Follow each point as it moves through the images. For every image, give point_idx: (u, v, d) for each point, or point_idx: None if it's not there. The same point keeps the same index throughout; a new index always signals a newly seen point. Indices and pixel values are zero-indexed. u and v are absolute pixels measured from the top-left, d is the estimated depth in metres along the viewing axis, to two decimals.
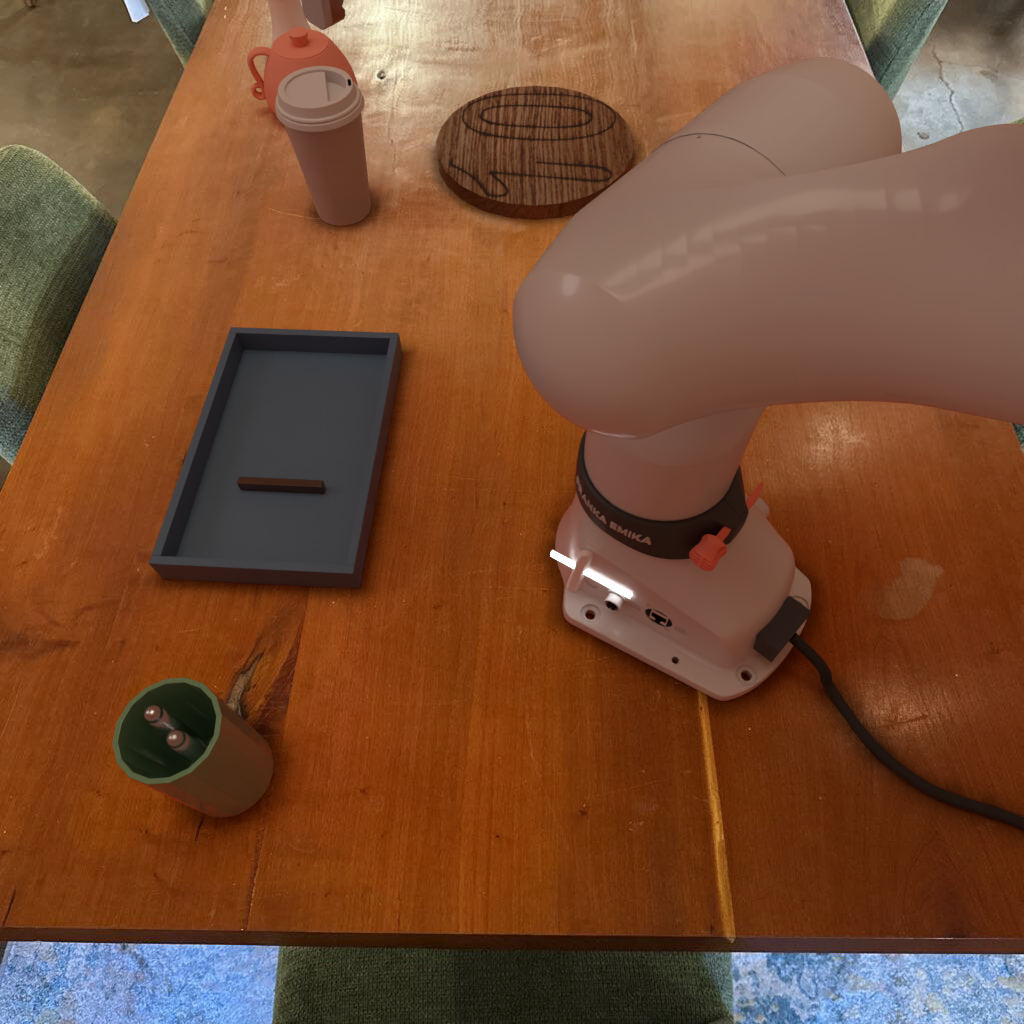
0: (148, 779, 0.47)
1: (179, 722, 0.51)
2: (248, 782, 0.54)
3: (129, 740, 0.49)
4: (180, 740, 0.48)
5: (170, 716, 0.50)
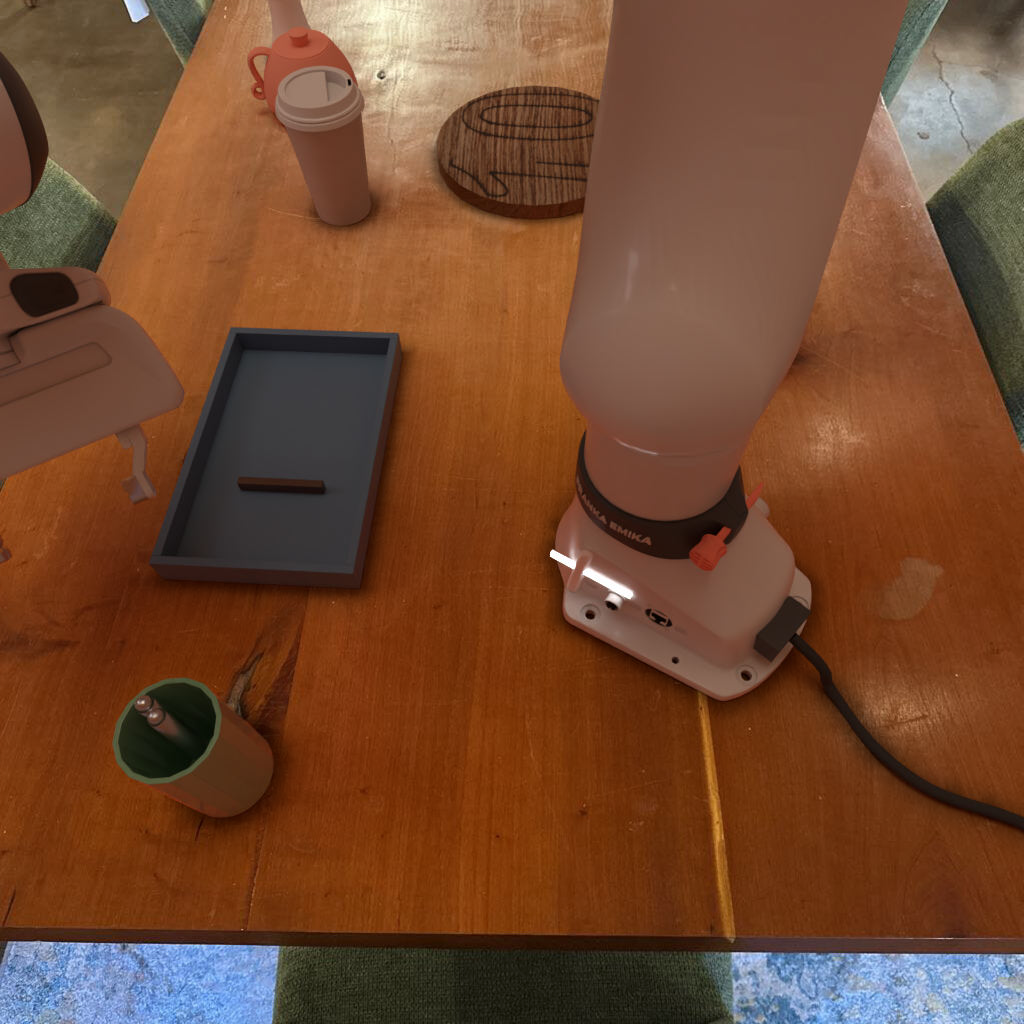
0: (148, 779, 0.47)
1: (172, 715, 0.51)
2: (248, 782, 0.54)
3: (129, 740, 0.49)
4: (159, 717, 0.48)
5: (162, 707, 0.50)
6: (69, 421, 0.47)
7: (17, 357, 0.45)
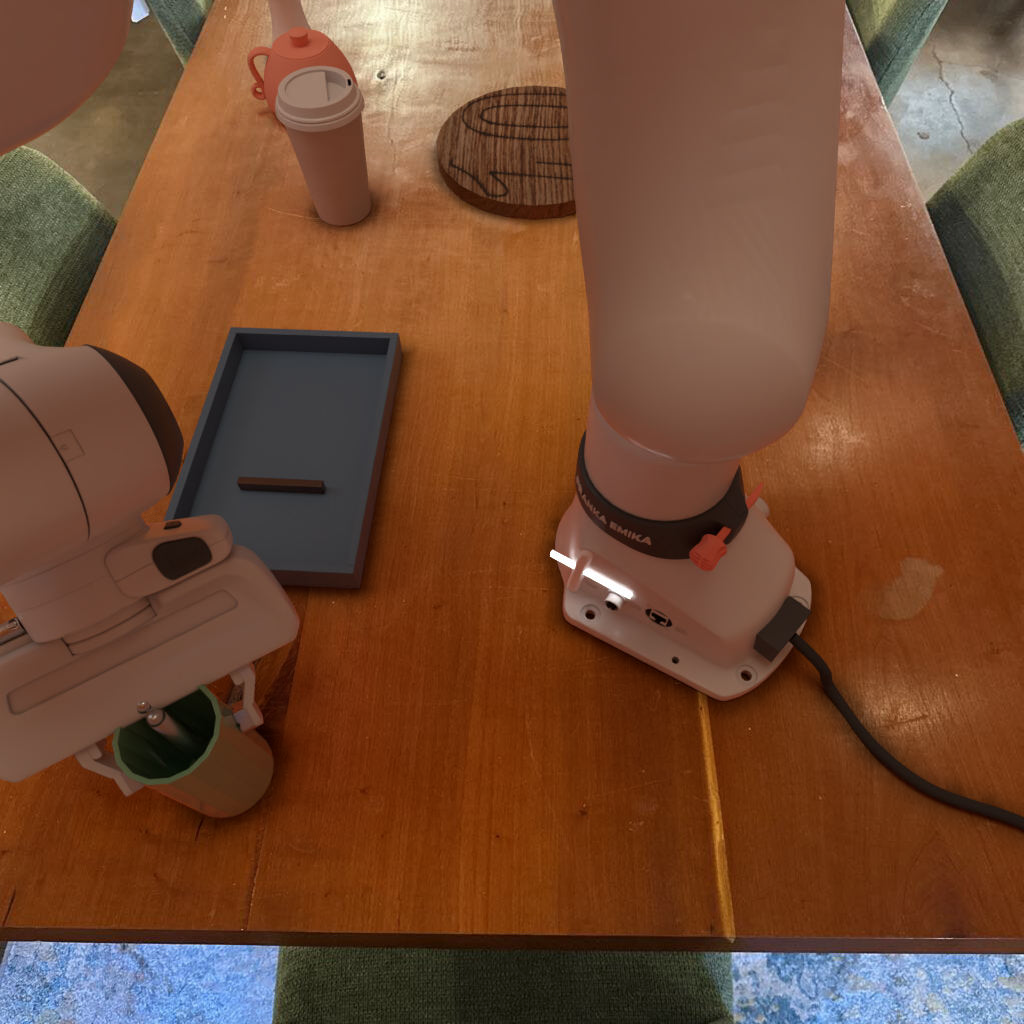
0: (148, 780, 0.47)
1: (172, 715, 0.51)
2: (248, 782, 0.54)
3: (128, 741, 0.49)
4: (159, 718, 0.48)
5: None
6: (199, 663, 0.50)
7: (153, 611, 0.48)
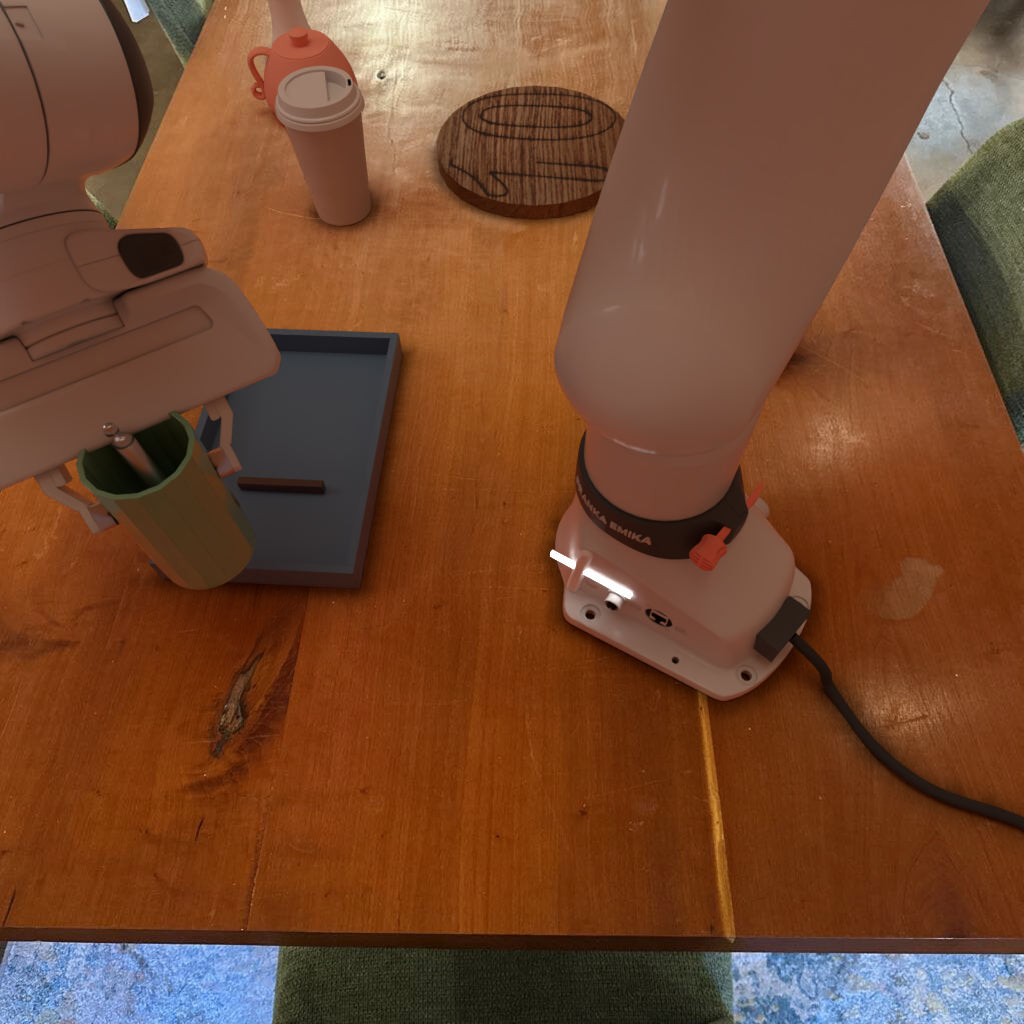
0: (114, 495, 0.43)
1: None
2: (226, 539, 0.51)
3: (95, 470, 0.46)
4: (127, 439, 0.45)
5: None
6: (171, 386, 0.46)
7: (121, 321, 0.44)
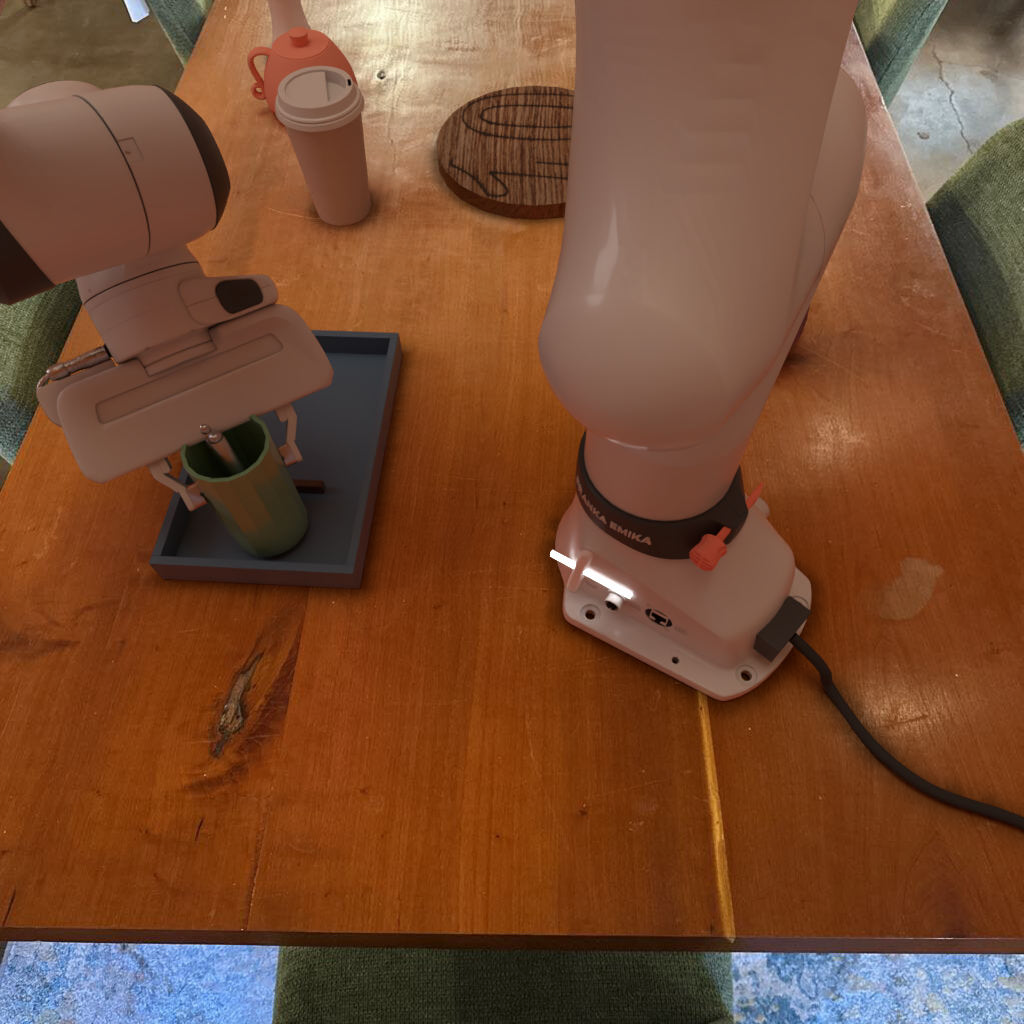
0: (211, 479, 0.57)
1: None
2: (289, 515, 0.64)
3: (192, 460, 0.59)
4: (218, 436, 0.58)
5: None
6: (251, 395, 0.59)
7: (214, 345, 0.58)
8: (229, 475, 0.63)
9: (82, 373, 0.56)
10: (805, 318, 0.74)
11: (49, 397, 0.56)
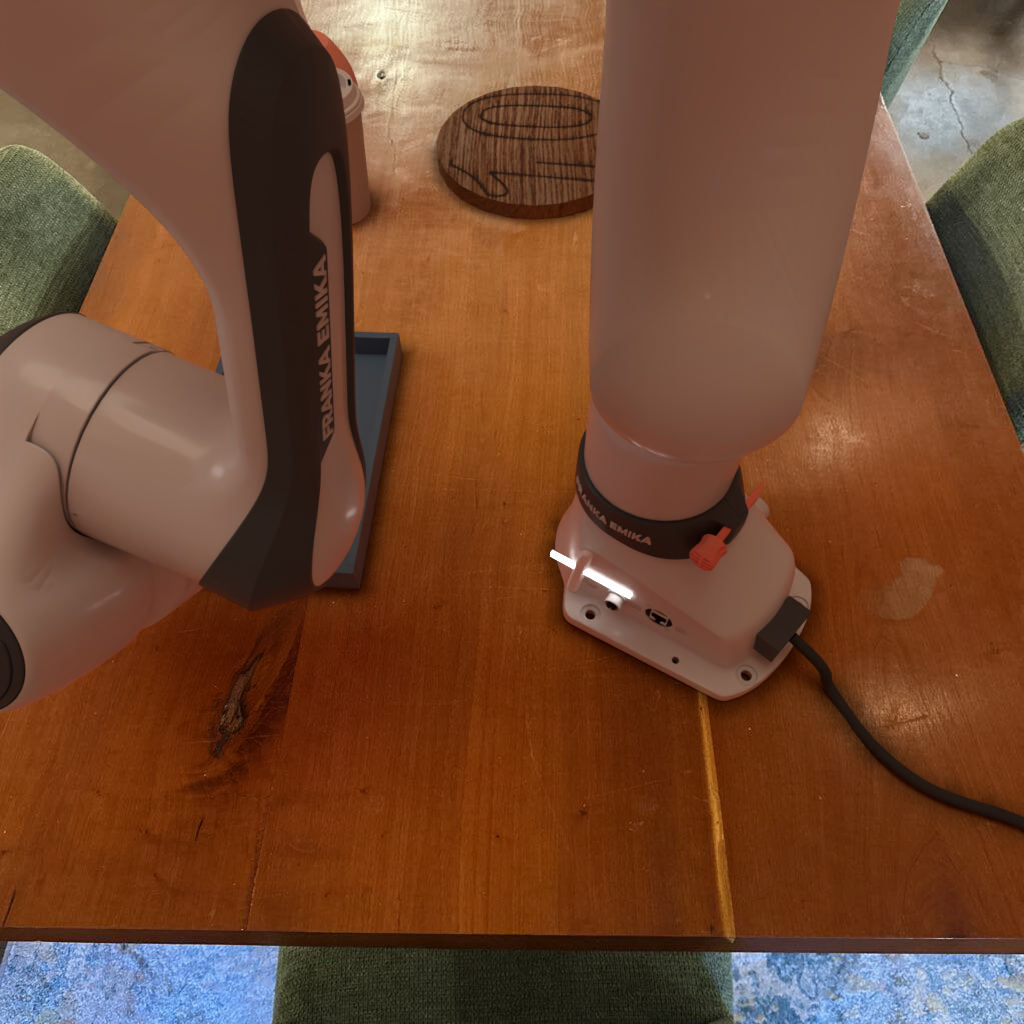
0: None
1: None
2: None
3: None
4: None
5: None
6: None
7: None
8: None
9: None
10: None
11: None
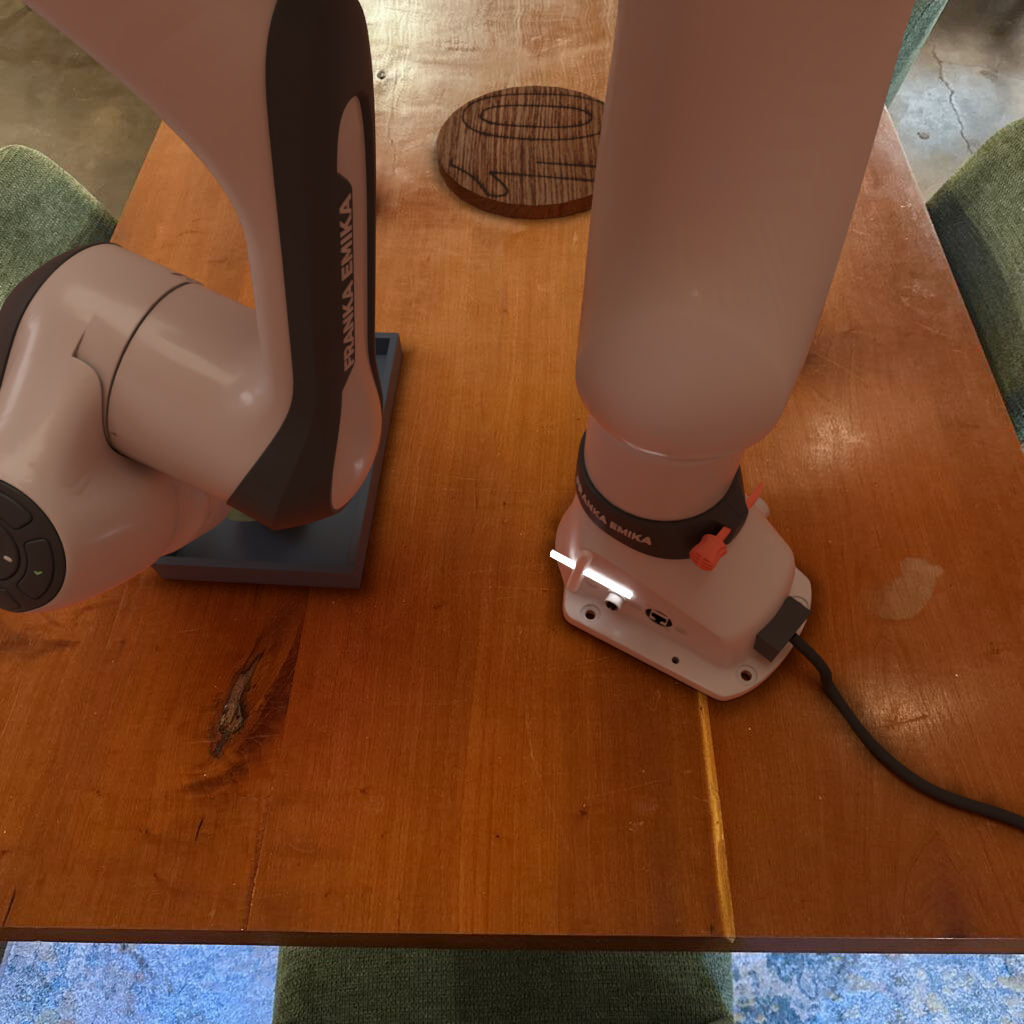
0: None
1: None
2: None
3: None
4: None
5: None
6: None
7: None
8: None
9: None
10: None
11: None
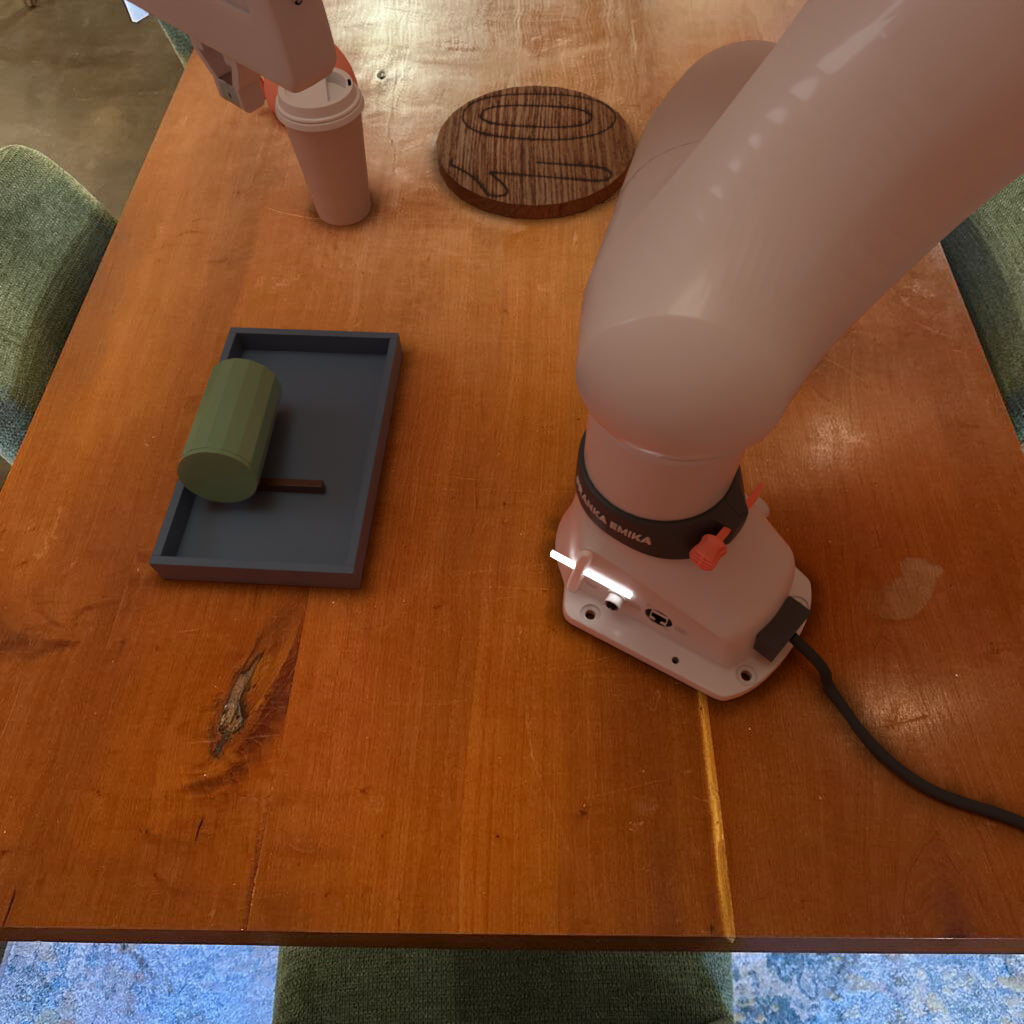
0: None
1: None
2: (216, 417, 0.66)
3: None
4: None
5: None
6: None
7: None
8: None
9: None
10: None
11: None
